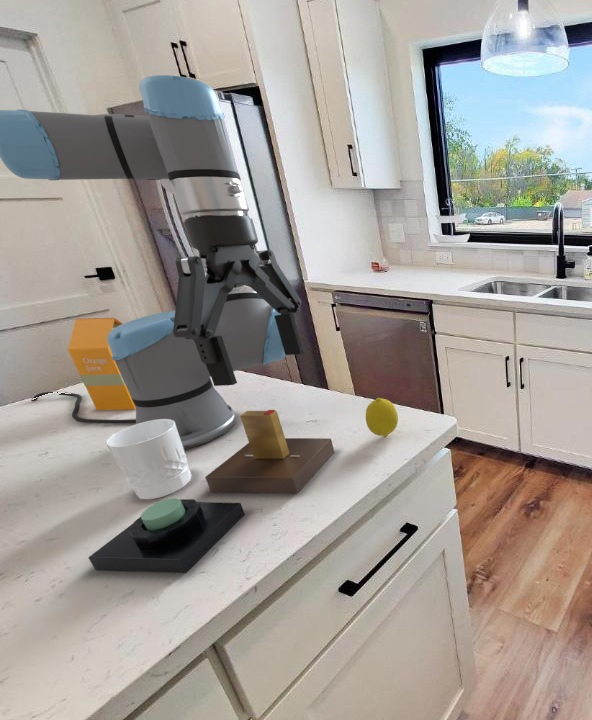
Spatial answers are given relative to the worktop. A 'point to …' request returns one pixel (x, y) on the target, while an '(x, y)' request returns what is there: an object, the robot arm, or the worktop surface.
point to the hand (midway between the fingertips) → (263, 367)
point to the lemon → (381, 417)
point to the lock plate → (272, 469)
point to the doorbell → (169, 540)
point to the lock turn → (265, 434)
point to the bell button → (163, 514)
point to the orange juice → (99, 364)
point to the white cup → (151, 458)
